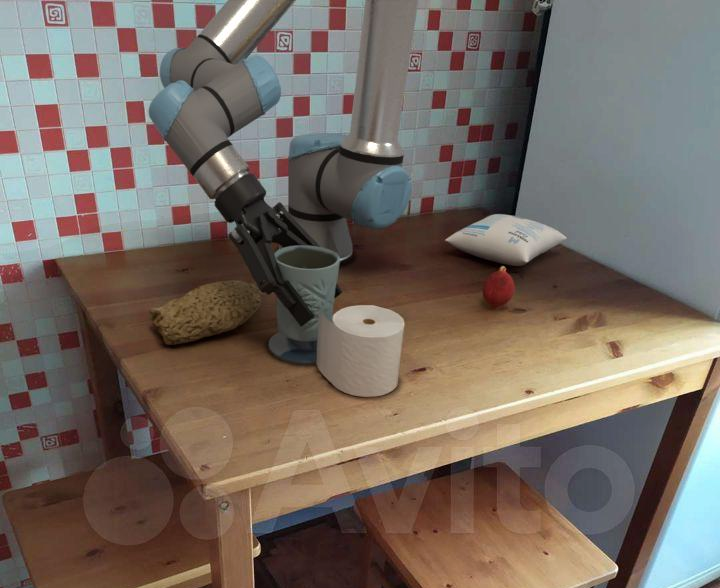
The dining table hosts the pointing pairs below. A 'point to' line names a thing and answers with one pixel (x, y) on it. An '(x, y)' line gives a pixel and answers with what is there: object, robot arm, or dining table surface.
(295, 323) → the embossed green cup
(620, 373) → the dining table surface
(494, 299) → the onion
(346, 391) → the toilet tissue
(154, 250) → the dining table surface
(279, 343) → the coaster
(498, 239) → the pouch
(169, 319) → the sponge
